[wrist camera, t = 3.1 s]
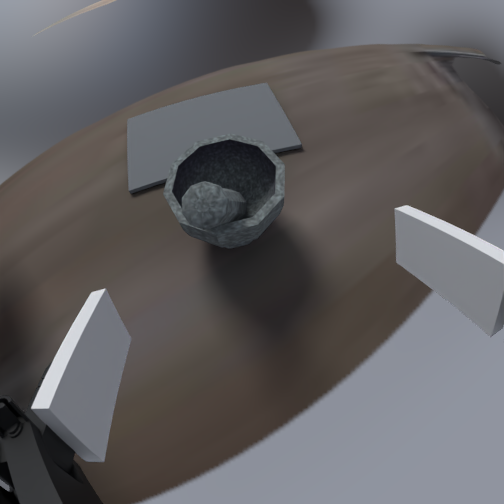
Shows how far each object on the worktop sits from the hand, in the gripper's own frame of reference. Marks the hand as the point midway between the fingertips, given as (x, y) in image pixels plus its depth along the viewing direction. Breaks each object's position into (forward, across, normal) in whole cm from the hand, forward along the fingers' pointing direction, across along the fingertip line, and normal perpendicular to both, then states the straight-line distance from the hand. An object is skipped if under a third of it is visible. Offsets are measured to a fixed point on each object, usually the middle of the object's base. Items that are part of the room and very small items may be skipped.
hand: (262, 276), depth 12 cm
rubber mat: (+27, 0, +7) cm, 28 cm away
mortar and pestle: (+17, 0, -3) cm, 17 cm away
